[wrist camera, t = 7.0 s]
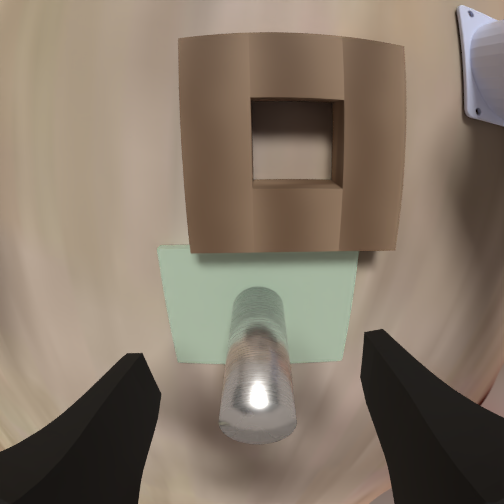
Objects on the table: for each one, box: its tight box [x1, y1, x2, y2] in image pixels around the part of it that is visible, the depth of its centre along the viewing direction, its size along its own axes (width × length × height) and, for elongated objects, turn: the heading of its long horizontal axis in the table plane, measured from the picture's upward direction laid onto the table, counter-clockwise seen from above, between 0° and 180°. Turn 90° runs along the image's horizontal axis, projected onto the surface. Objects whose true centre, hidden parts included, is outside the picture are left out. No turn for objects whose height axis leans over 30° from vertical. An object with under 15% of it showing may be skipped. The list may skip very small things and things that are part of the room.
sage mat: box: [157, 245, 359, 364], centre depth 20 cm, size 12×9×1 cm
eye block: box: [178, 32, 406, 254], centre depth 15 cm, size 11×11×2 cm
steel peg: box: [219, 286, 297, 444], centre depth 16 cm, size 3×3×9 cm
